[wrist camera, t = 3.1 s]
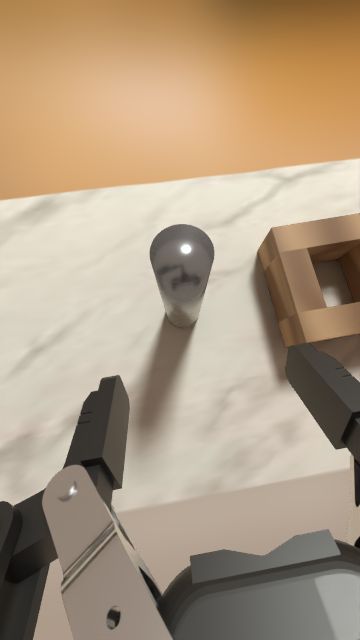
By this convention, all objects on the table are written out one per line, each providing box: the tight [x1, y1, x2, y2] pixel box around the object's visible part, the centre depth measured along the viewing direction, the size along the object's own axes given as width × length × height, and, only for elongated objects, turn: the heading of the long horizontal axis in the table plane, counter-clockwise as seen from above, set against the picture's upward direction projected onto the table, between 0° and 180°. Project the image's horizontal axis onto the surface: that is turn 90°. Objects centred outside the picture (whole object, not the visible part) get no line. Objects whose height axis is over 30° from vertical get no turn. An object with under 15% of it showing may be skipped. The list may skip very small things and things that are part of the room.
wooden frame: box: [258, 213, 360, 347], centre depth 22 cm, size 11×11×4 cm
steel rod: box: [150, 224, 214, 327], centre depth 18 cm, size 3×3×12 cm
